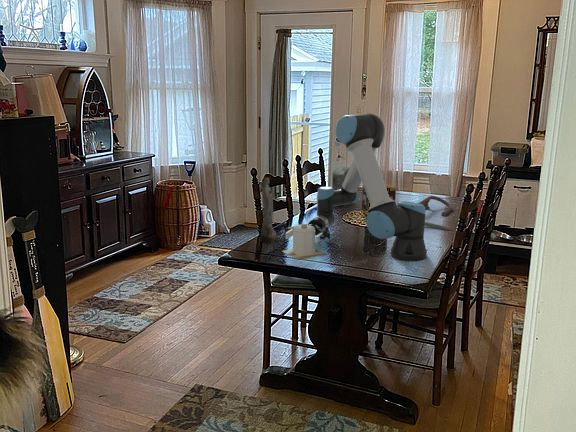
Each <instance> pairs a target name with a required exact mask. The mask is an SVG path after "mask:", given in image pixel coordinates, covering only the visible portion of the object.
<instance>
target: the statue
mask: <svg viewBox="0 0 576 432" xmlns="http://www.w3.org/2000/svg"><path fill="white" fill-rule="evenodd" d="M269 184H270V178H269V177H264V178H263V181H262V188H261V189H262V190H261V194H262V195H261V196H262V198H261V199H262V206H263V216H262V217H263V218H262V219H263V220H262V225H261V230H260V238H259V242H261V243H266V244H270V243H276V242H277V241H279V239H278V238H279V237H278V235H277V233H276V231H275V230H274V228H273V221H274V220H273V215H274V201H273V200H274V192H273V189H271V188H270V186H269Z"/></svg>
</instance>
